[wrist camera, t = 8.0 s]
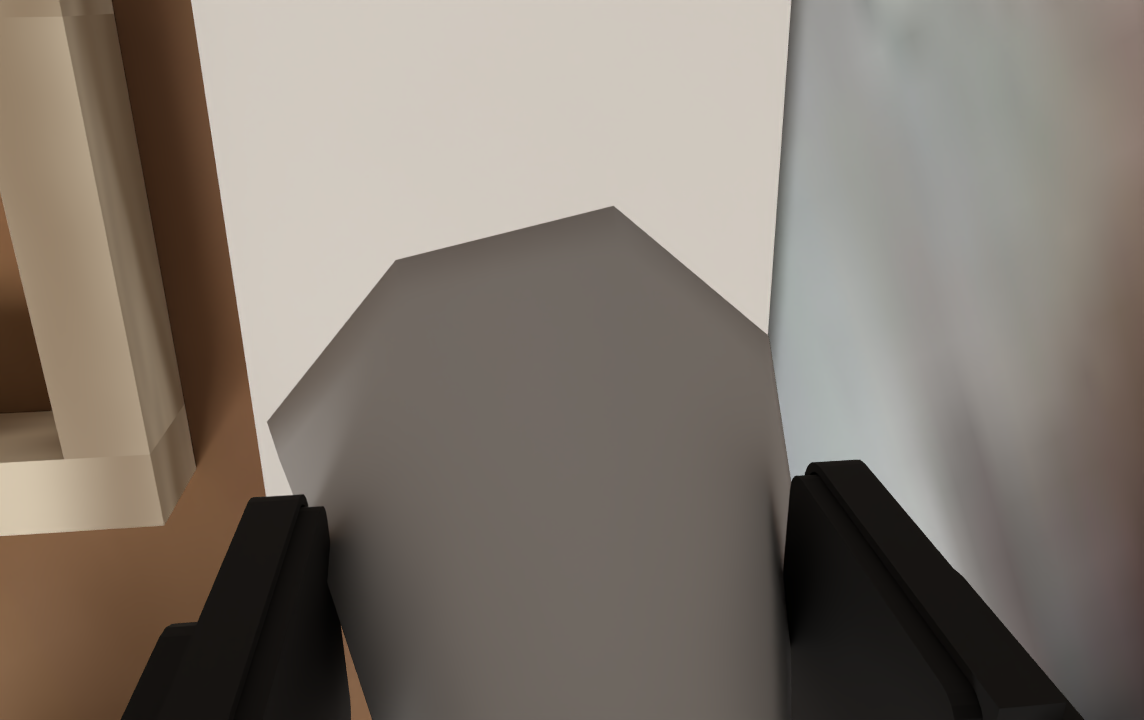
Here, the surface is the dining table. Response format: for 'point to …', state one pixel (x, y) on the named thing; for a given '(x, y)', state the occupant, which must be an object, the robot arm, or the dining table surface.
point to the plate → (478, 145)
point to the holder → (84, 284)
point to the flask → (551, 484)
